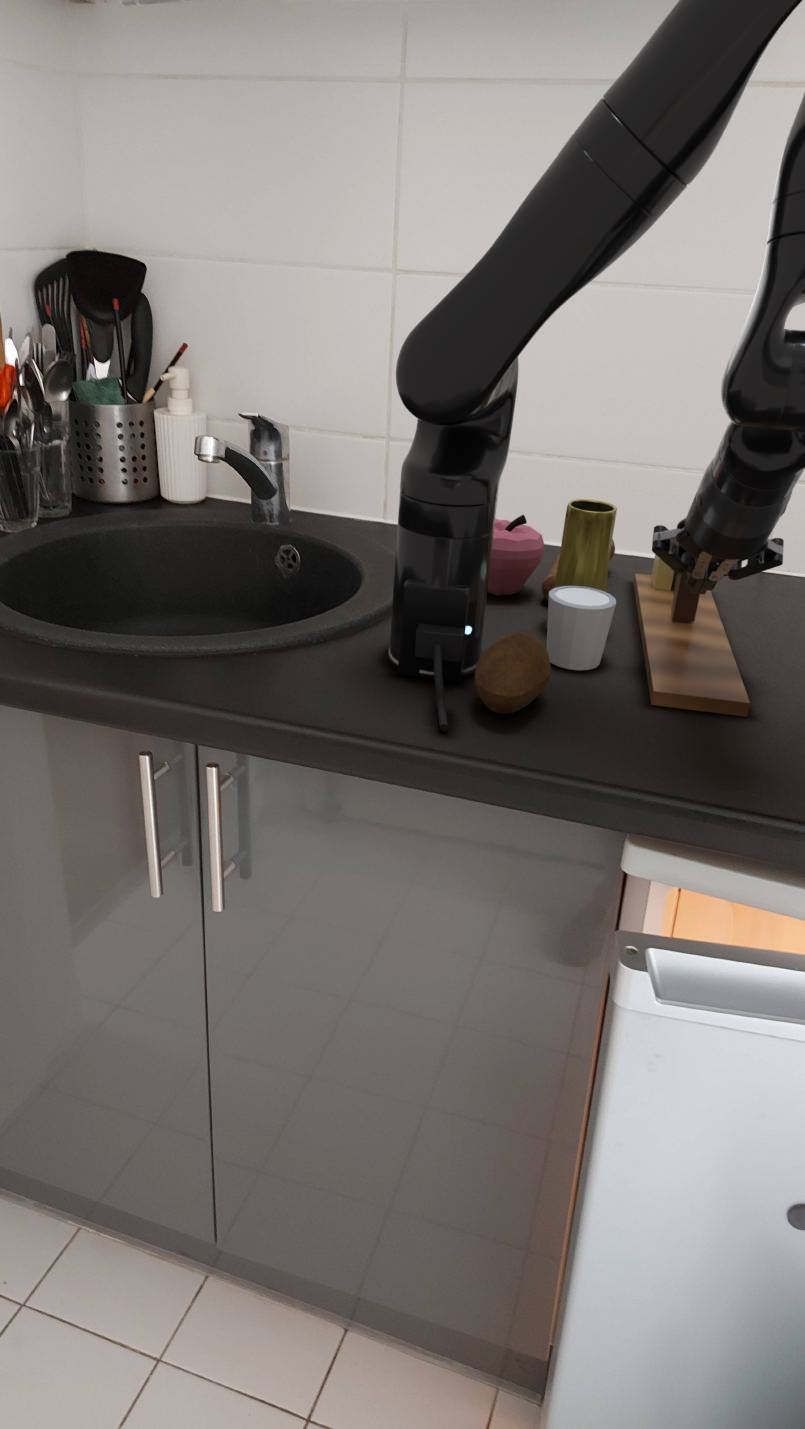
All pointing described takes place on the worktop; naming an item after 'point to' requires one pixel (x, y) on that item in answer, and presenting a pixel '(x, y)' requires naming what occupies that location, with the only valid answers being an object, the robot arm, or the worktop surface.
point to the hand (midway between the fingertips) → (697, 585)
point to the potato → (512, 672)
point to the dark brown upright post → (683, 599)
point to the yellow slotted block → (661, 575)
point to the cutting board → (687, 654)
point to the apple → (513, 555)
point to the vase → (586, 544)
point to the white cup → (578, 626)
